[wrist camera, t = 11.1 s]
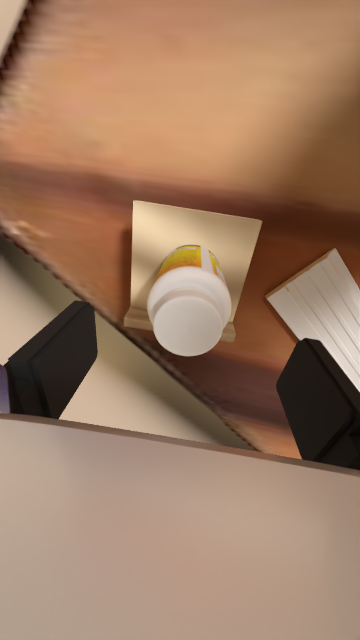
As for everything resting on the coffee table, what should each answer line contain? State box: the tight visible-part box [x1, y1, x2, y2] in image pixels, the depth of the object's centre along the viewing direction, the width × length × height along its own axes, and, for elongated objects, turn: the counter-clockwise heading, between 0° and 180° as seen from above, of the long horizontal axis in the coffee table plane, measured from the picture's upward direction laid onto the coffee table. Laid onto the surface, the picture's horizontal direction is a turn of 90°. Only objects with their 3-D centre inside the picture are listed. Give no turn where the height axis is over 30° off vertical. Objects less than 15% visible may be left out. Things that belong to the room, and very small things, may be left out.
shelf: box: [124, 201, 262, 343], centre depth 22 cm, size 11×11×7 cm
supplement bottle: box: [147, 244, 231, 356], centre depth 17 cm, size 6×6×10 cm
